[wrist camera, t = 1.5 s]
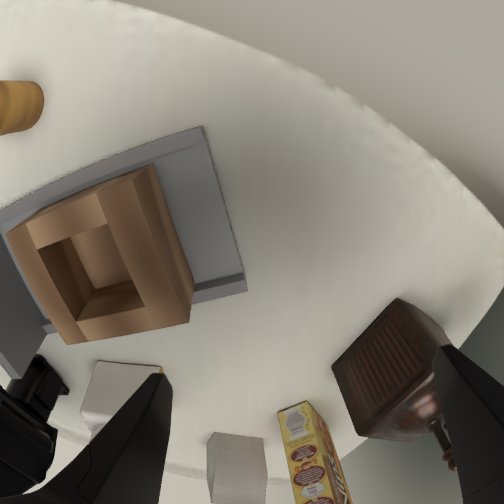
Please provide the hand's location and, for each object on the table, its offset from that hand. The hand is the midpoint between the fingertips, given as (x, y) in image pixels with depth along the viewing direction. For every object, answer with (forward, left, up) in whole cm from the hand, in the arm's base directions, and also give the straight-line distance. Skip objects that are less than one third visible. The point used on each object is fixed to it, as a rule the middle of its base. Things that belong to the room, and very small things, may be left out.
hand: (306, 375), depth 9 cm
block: (-11, +1, -14) cm, 18 cm away
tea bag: (-10, -30, -15) cm, 35 cm away
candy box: (0, -28, -15) cm, 32 cm away
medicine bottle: (-17, -15, -15) cm, 27 cm away
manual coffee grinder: (+13, -17, -15) cm, 26 cm away
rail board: (-13, +1, -15) cm, 20 cm away
